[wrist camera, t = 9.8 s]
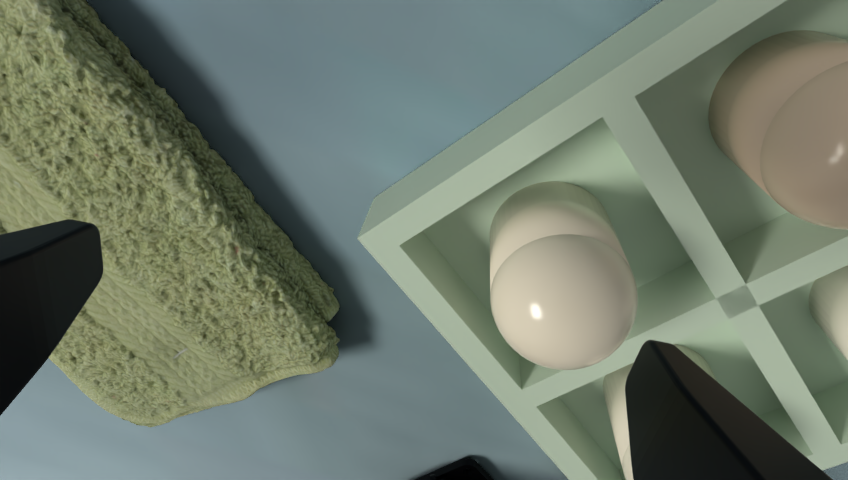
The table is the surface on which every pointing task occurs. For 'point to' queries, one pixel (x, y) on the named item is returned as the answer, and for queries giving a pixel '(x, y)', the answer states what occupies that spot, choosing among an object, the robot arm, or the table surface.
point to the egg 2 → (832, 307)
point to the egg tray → (636, 233)
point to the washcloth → (148, 228)
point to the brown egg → (789, 122)
